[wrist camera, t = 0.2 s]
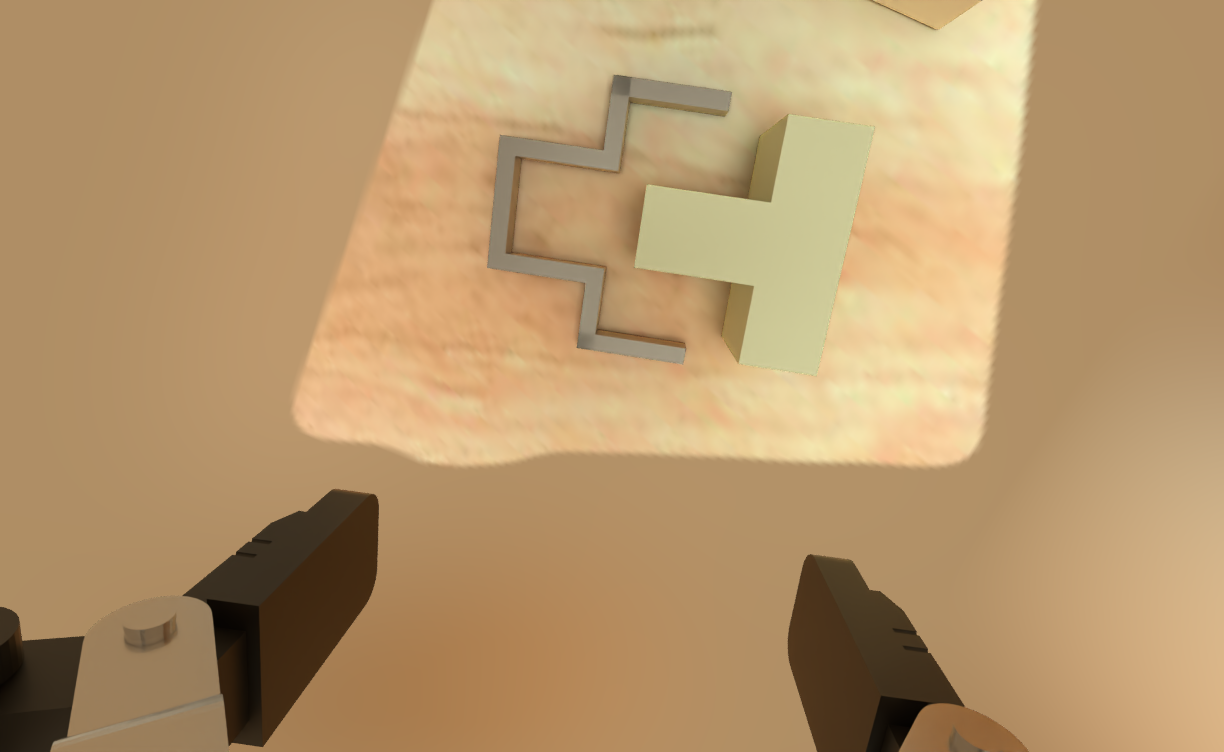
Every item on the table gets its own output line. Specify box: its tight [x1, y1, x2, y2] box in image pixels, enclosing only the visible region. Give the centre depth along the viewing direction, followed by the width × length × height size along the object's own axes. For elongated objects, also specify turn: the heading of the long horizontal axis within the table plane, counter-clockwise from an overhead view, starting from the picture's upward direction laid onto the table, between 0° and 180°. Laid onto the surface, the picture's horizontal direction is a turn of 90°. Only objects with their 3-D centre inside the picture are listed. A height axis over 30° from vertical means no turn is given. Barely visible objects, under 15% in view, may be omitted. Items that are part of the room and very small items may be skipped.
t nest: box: [487, 75, 732, 364], centre depth 38 cm, size 16×13×2 cm
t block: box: [634, 114, 875, 376], centre depth 35 cm, size 12×10×8 cm
